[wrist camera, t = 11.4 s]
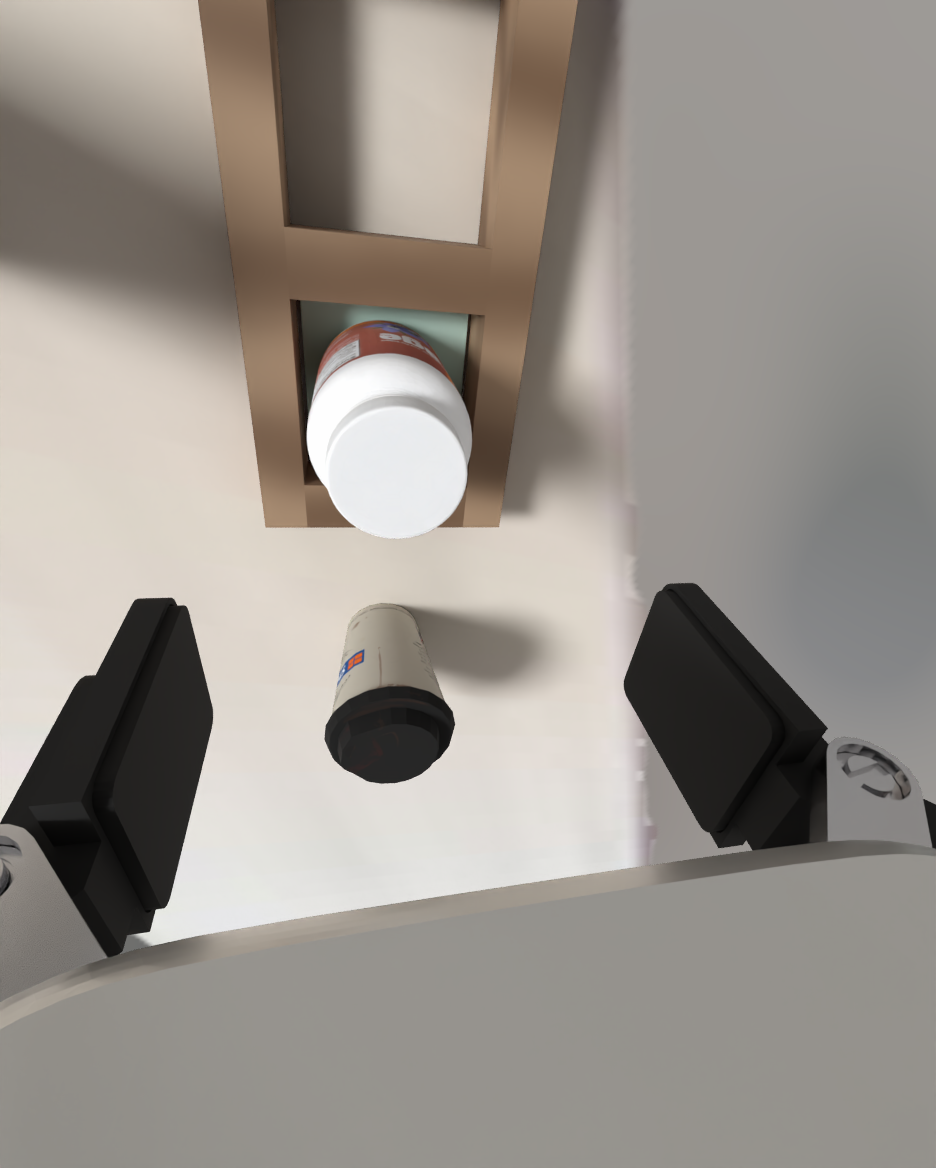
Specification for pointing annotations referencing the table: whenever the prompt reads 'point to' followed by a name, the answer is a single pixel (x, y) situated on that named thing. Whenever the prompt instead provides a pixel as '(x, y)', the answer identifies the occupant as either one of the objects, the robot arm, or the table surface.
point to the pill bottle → (388, 431)
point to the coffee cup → (387, 700)
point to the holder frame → (383, 255)
